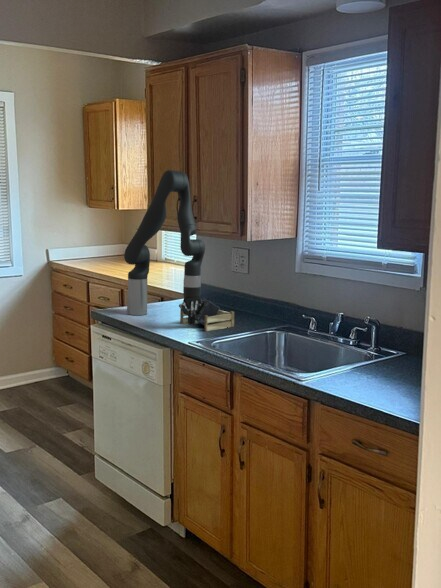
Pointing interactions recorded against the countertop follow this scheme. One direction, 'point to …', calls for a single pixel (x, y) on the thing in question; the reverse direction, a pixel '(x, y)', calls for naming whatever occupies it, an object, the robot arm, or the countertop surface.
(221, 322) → the pine crate
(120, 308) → the countertop surface
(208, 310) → the small box
